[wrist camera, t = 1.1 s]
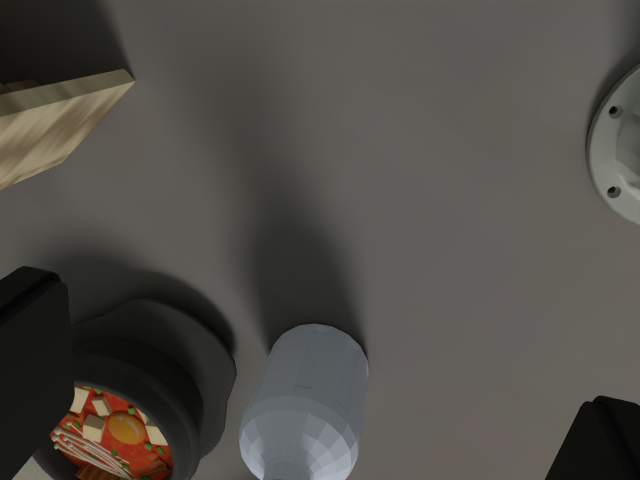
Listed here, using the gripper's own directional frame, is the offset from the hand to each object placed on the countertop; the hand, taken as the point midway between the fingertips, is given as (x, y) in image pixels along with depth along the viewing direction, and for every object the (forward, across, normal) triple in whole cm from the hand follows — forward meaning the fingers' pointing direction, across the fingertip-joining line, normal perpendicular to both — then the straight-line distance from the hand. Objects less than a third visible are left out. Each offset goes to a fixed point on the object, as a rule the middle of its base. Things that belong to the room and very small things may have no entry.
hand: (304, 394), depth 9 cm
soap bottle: (+31, +1, +24) cm, 39 cm away
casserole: (+31, +18, +32) cm, 48 cm away
